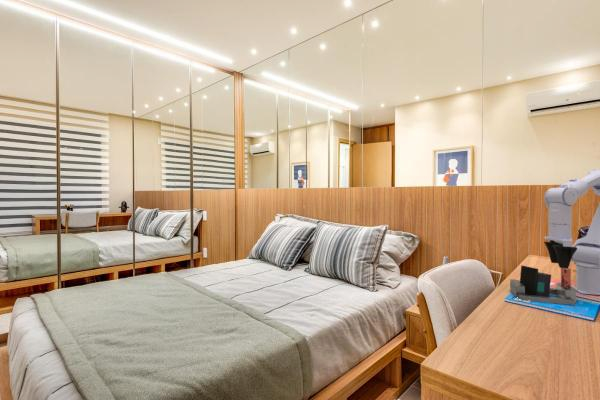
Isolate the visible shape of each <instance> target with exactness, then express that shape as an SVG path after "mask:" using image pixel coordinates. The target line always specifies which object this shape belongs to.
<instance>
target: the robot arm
mask: <svg viewBox="0 0 600 400" xmlns="http://www.w3.org/2000/svg"><path fill="white" fill-rule="evenodd" d="M590 188H591V189H592V191H593V193H594V194H595V195H597V196H599V197H600V169H592V170H590V171H588V173H587V174H586V175H585V176H584V177H582V178H576V177H575V178H570V179H569V181H568V182H566V183H562V184H560V185H559V186H558V187H550V188H549V189H547V190H546V191H545V193H544V196H543V200H544V202H545V204H546V209H547V210H548V236H543V239H544V240H548V241H544V242H543V243H544V245H545V247H546V248H547V252H548V255H549V259H550V262H551V264H558V267H559V269H561V268H568V269H569V267H570V264H571V261H572V262H573V264H574V265H575V266H576V269H575V271H576V272H575V275H576V276H575V280H576V281H575V284H576V285H571V288H573V289H574V290H575V291H576V292H578V293H579V294H583V295H585V294H586V295H594V296H596V295H598V296H600V202H599V203H598V206H597V208H596V211H595V213H594V215H593V219H592V220H591V223H590V226H589V228H588V230H587V233H586V235H585V236H584V237H580V238H578V239H576V240H575V242H574V244H573V238H572V217H573V216H572V215H573V214H572V209H573V207H572V206H573V205H574V206H575V203H576V201H577V200H578V199H579V198H581V197H582V196H583V195H586V194H587V193H588V192H589V189H590Z"/></svg>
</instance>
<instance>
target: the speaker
mask: <svg viewBox="0 0 600 400" xmlns="http://www.w3.org/2000/svg"><path fill="white" fill-rule="evenodd" d="M519 281H520V283H522V284H523V285H524V286H525V295H535V296H545V297H550V294H549V292H550V288H551V281H552V274H549V273H545V272H539V268H537V267H536V268H535V267H530V266H525V265H523V264H522V265H521V266H520V276H519Z"/></svg>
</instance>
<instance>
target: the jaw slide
mask: <svg viewBox="0 0 600 400" xmlns="http://www.w3.org/2000/svg"><path fill="white" fill-rule="evenodd" d="M571 270H572V269H570V268H569V267H568V268H560V282H556V283H555V286H556V288H555V289H556V294H555V295H556V296H557V297H558V298H566V299H573V300H574V301H575V303H576V304H577V290H575V289H574V288H572V287H571V286H572V275H571V273H572V271H571Z"/></svg>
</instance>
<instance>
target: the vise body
mask: <svg viewBox="0 0 600 400" xmlns="http://www.w3.org/2000/svg"><path fill="white" fill-rule="evenodd" d="M509 280H510V281H509V282H510V283H509V286H510V287H509V289H510V292H511V294H512V295H513V294H514V295H513V296H514V297H515V298H516V297H518V298H519V299H521V300H520V301H524V300H530V301H529V302H534V301H537V303H544V302H548V303H547V304H554V303H557V304H556V305H564V304H571V305H570V306H574V305H576V304H575V301H574V300H573V299H566V298H560V297H555V296H554V297H553V296H549V297H545V296H535V295H525V286H524V285H523V284H522V283H520V279H513V278H511V279H509ZM549 295H556V288H554V287H553V288H551V287H550V292H549ZM518 298H517V299H518ZM519 299H518V300H519Z"/></svg>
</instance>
